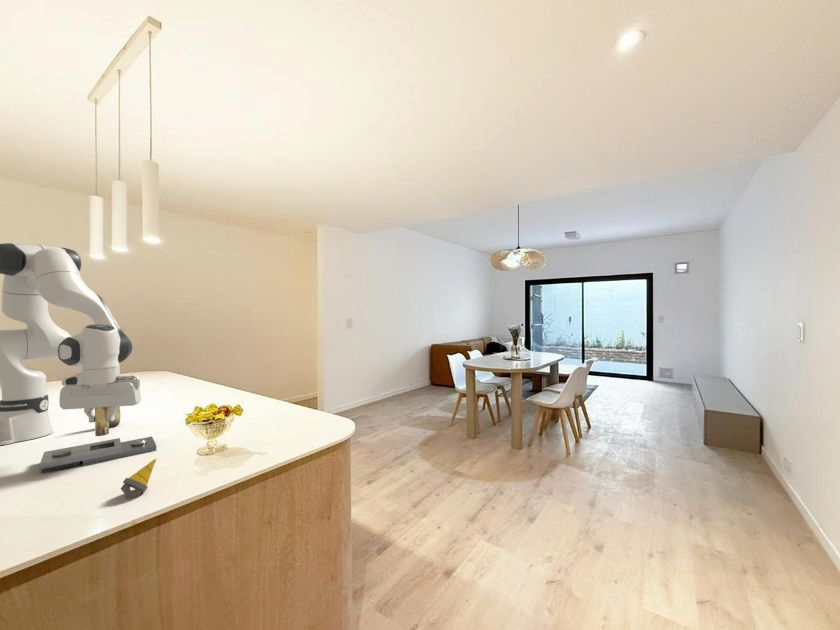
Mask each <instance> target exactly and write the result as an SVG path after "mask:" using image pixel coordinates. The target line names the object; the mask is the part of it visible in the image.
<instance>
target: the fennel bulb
mask: <svg viewBox="0 0 840 630" xmlns="http://www.w3.org/2000/svg"><path fill="white" fill-rule="evenodd" d="M111 411H112V410H110V407H109V415H110V413H111ZM120 422H121V406H119V409H118V411H117V412H116V414H115V420H113V421H109V428H113V427H117V426H119V425H120Z"/></svg>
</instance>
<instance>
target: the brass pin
mask: <svg viewBox="0 0 840 630" xmlns="http://www.w3.org/2000/svg"><path fill="white" fill-rule="evenodd" d="M94 414H95V422H94V434H95V435H94V436H95V437H103V436H107V435H109V434H110V427H109V421H106V416H107V415H109V407H97V408H94Z"/></svg>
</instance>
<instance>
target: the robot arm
mask: <svg viewBox="0 0 840 630" xmlns="http://www.w3.org/2000/svg"><path fill="white" fill-rule="evenodd" d="M81 268H82V260H81V256H80V255H79V253H78V252H77V251H76V250H73V249H70V248H67V247H59V246H58V247H57V246H51V245H47V244H46V245H44V244H27V243H26V244H24V243H21V244H18V243H17V244H16V243H12V242H10V243H9V242H7V243H0V275H3V280H2V281H3V282H2V289H1V291H2V292H1V294H2V296H1V298H2V299H1V311H2V313H3V315H4V316H6V317H8V318H9V319H12V320H14V321H17V322H22V323H24V324H26V325H27V327H26V328H24V329H0V389H1V390H0V391H1V400H0V446H5V445H10V444H13V443H18V442H23V441H29V440H33V439H37V438H41V437H45V436H47V435H50V434H51V433H53V432H54V429H53V427H52V425H51V421H50V417H49V411H48V410H49V395H48V394H47V388H48V387H47V375H46V374H45V373H44V372H43V371H40V370H39V369H38V370H37V369H36V368H31V367H26V366H24V365H23V360H24V361H25V360H35V359H37V360H38V359H48V358H49V359H50V358H54V357H58V359H59V360H60V361H61V362H62V363H64V364H65V365H67V366H70V367H71V366H73V367H80V366H82V368H81V372H80V373H77V374H75V375H71V376H68V377H64V378H62V379H61V385H62V386H63V387H62V388H61V389H60V392H59V408H61V409H62V410H77V409H78V410H79V409H83V412H84V414H85V415H86V417H88V422H89V423H95V412H94V411H95V408H97V407H110V410H112V411H111V413H110V415H107V416H106V421H113V420H115V414H116V412H117V411H118V409H119V406H120V407H128V406H129V407H130V406H131V407H132V406H133V407H134V406H136V405H138V404H139V403H140V402H141V401H142V395H141V394H142V393H141V388H140V386H141V385H140V382H141V381H140V378H139V377H136V376H135V375H128V376H127V375H120V374H121V372H120V371H121V370H120V369H121V368H120V363H123V362H124V361H125V360H126V359H127V358H129V357H130V355H131V354H132V351H133V343H132V341H131V339H130V338H129V337H128V335H127V334H126V333H124V331H123V330H122V328H121V327H120V325H119V323H118V322H117V321H116V318H115V316H113V314H112V312H111V310H110V309H109V307H108V305H107V304H106V302H105V300H104V299H103V298H102V296H101V295H100V294H97V293H96V292H94V291H93V290H92V289H91V288H90V287H88V285H87V284H86V283H85V282H84V280H83V278H82V276H81V273H80V271H81ZM49 304H51V305H53V306H56V307H59V308H64V309H65V308H66V309H68V310H71V311H77V312H79V313H82V314H84V315H86V316H88V317H89V318H90V319H91V320H92V321H93V323H94V324H89V325H86V326H84V327H83V328H82V331H81V332H79V333H77V334H74V335H72V336H71V334H70V332H68V331H67V330H66V329H63V328H61V327H59V325H57V324H56V323H55V322H54V321H53V319H52V318H51V316H50V313H49Z"/></svg>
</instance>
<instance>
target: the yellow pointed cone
mask: <svg viewBox="0 0 840 630" xmlns="http://www.w3.org/2000/svg"><path fill="white" fill-rule="evenodd" d="M156 460H157V458H154V459H153V460H152V461H150V462H149V463H148V464H146V465H145V466H144V467H141V468H140V469H139V470H138V471H136V472H135V473H134V474H132V475H131V476H129V477H126V478H125V479H124V480H123V482H122V483H123V484H122V486H121V487H120V490H121V491H122V493H123V495H125V497H124V499H126V500H127V499H131V498H132V499H133V498H137V497H140V495H141V494H142V493H143V492H144V493H145V492H146V491H147V489H148V488H149V487H148V483H149V481H150V478H151V475H152V472H153V469H154V466H155V463H156ZM131 488H132V489H131Z"/></svg>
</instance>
